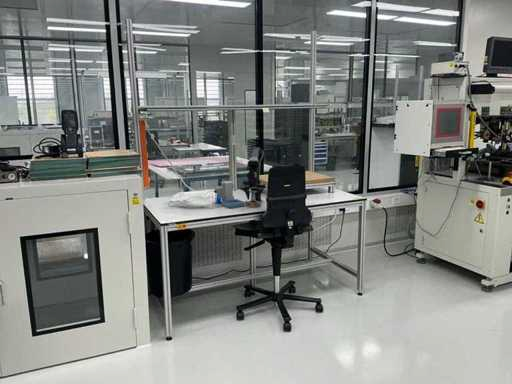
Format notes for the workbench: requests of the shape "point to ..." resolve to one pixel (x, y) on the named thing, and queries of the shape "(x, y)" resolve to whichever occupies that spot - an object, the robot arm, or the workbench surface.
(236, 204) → the tray
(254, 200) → the pin
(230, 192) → the circuit breaker
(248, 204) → the hole block
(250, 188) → the robot arm
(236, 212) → the workbench surface
